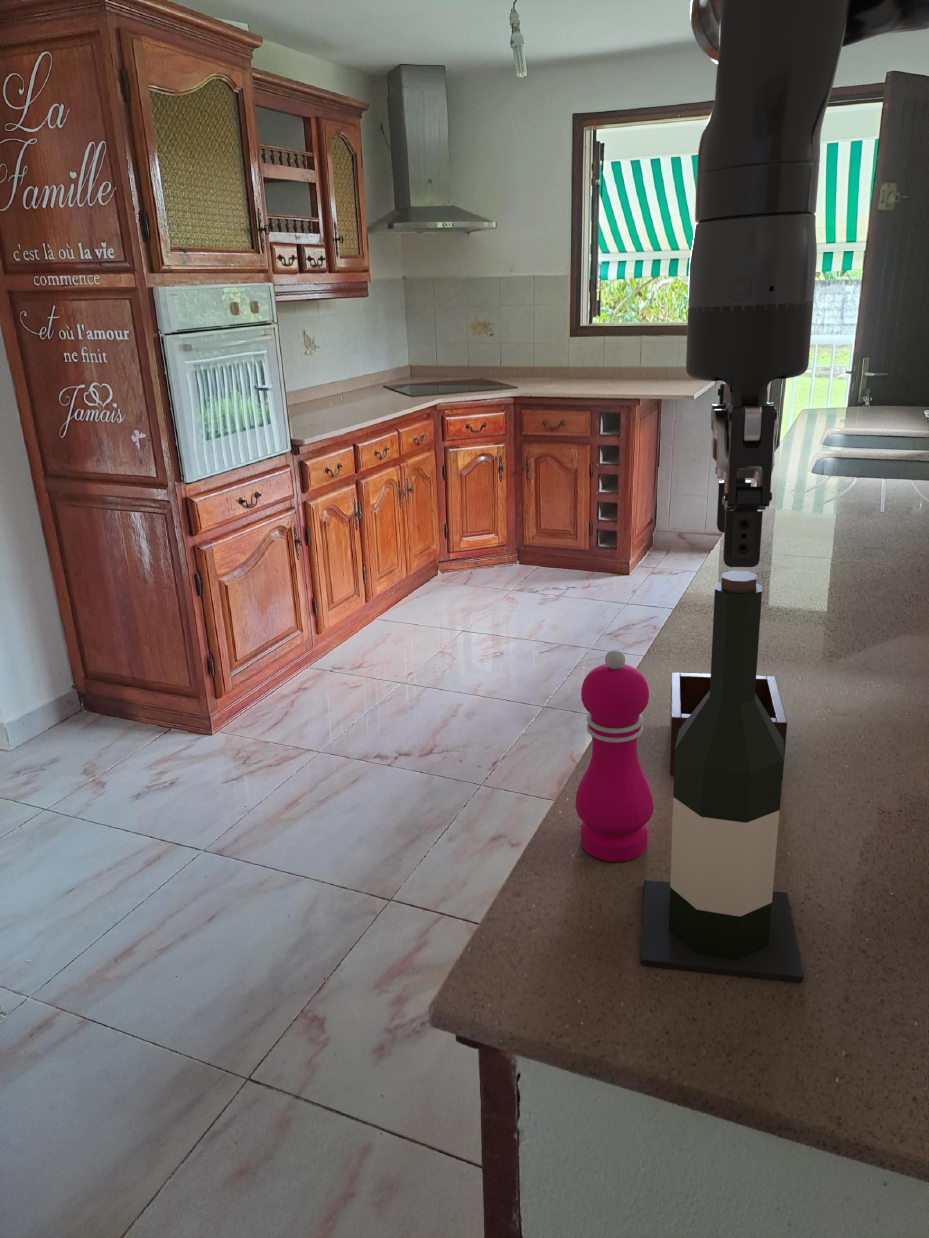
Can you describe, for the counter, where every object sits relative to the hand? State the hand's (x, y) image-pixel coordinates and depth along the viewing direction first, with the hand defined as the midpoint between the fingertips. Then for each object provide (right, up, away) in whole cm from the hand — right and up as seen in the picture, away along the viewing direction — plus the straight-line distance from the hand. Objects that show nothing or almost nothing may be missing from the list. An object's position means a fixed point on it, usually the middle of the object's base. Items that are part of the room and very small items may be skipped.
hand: (736, 547), depth 61 cm
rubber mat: (+2, -31, +11) cm, 33 cm away
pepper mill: (-5, -27, +24) cm, 36 cm away
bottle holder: (+10, -20, +38) cm, 44 cm away
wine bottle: (+2, -30, +11) cm, 32 cm away
